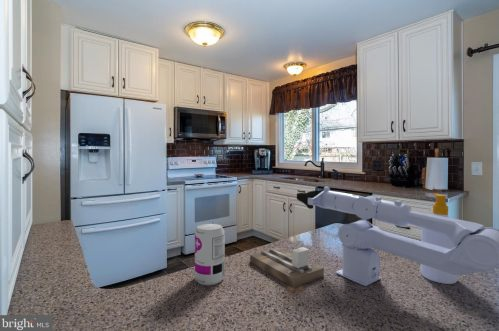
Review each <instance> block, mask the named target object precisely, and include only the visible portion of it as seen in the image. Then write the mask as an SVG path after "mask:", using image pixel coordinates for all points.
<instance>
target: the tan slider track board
mask: <svg viewBox="0 0 499 331" xmlns="http://www.w3.org/2000/svg"><path fill="white" fill-rule="evenodd" d="M249 262H250V264H252V265H254V266H256V267H257V268H259V269H261V270H263V271H264V272H266V273H268V275H269V274H270V275H271V276H273V277H274V278H276V279H278V280H280V281H282V282H284V284H286V285H289V286H290V287H291V288H293V289H296V288H299V287H300V286H303V285H305V284H308V283H309V282H313V281H315V280H318V279H319V278H322V277H324V274H325V273H324V272H325V271H324V270H325V268H324V267H323V266H321V265H319V264H316V263H314V262H312V261H310V260H309V265H306V266H307V269H304V270H302V269H300V268H296V267H294V266H292V252H289V251H286V249H285V250H284V249H282V248H280V247H275V248H269V249H267V250H264V249H263V250H261V252H256V253H253V254H252V253H251V254H250V255H249Z"/></svg>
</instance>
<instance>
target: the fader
mask: <svg viewBox="0 0 499 331" xmlns="http://www.w3.org/2000/svg"><path fill="white" fill-rule="evenodd" d="M291 254H292V266H294V267H296V268H300V269H302V270H304V269H307V266H306V265H309V261H310V249H309V248H307V247H304V246H302V247H301V246H300V247H298V248H295V249H291Z"/></svg>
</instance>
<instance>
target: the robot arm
mask: <svg viewBox="0 0 499 331" xmlns="http://www.w3.org/2000/svg"><path fill="white" fill-rule="evenodd" d="M296 200H297V201H299V202H301V203H302V204H304V205H305V206H306V207H307V209H309V210H312V209H314V206H316V207H319V208H322V209H326V210H327V209H328V210H333V211H336V212H337V211H338V212H341V213H346V214H351V215H356V216H357V217H358V218H360V219H359V220H357V221H354V222H350V223H345V224H341V225H340V227H339V228H338V230H337V231H338V232H337V236H338V239H339V241H340V242H341V244H342V269H339V270H336V271H335V273H336V274H337V275H339V276H341V277H344V278H345V279H346V278H347V280H351V281H352V282H355V283H356V284H360V285H362V286H363V287H364V286H365V287H367V286H369V285H372V284H374V282H377V281H379V280H380V279H382V277H381V276H380V272H381V271H380V268H381V267H380V264H381V259H380V258H381V257H380V253H379V252H378V251H381V252H385V253H387V254H391V255H393V256H397V257H400V258H402V259H405V260H408V261H412V262H415V263H418V264H420V265H421V264H423V265H426V266H429V267H432V268H435V269H438V270H441V271H444V272H447V273H450V274H453V275H458V276H461V275H469V274H476V273H489V272H491V271H492V270H494V269H497V267H499V228H496V227H493V226H492V227H491V226H490V227H487V226H486V227H485V225H483V224H480V223H478V222H473V221H468V220H463V219H458V218H452V217H449V216H448V217H449V218H448V217H442V216H437V215H433V214H431V213H426V212H425V213H424V212H419V211H414V210H412V209H411V208H410V206H409V205H408V204H405V203H403V201H402V200H398V199H397V200H394V201H391V200H387V199H386V200H385V199H382V197H380V196H377V197H376V196H375V195H373V194H371V195H367V196H363V195H362V196H361V195H359V194H358V195H356V194H354V193H345V192H341V191H334V190H333V188H331V187H330V186H323V189H321V190H320V189H319V190H318V189H317V190H311V191H307V192H297V193H296ZM369 219H374V220H376V221H379V222H383V223H386V224H389V225H392V226H397V227H401V228H403V227H406V226H407V225H412V226H415V227H419V228H421V229H422V228H425V229H428V230H431V231H434V232H438V233H441V234H444V235H446V236H447V237H448V238H449V240H450V241H451V242H452V244H453V245H454V246H455V247H454V248H453V249H448V248H444V247H441V246H437V245H433V244H430V243H426V242H422V241H421V240H418V239H414V238H411V237H407V236H403V235H400V234H396V233H392V232H389V231H385V230H382V229H381V228H380V227H379V226H376V225H373V224H372V223H371V222H369V221H368V220H369ZM377 250H378V251H377Z"/></svg>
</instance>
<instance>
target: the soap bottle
mask: <svg viewBox="0 0 499 331" xmlns="http://www.w3.org/2000/svg"><path fill="white" fill-rule="evenodd" d="M432 196H435V197H436V198H435V199H436V201H435V202H434V203H433V206H432V215H437V216H442V217H448V218H450V217H449V206H448V205H447V202H446V195H444V194H440V193H438V192H437V193H435V192H434V193H433V192H432ZM420 241H422V242H426V243H430V244H433V245H437V246H441V247H444V248H448V249H453V248H454V247H455V246H454V245H453V244H452V242H451V241H450V240H449V238H448V237H447V236H446V235H444V234H441V233H438V232H434V231H431V230H428V229H425V228H421V240H420ZM419 272H420V274H421V276H422V277H424V279H427V280H429V281H432V282H436V283H439V284H446V285H447V284H448V285H452V284H457V282H458V277H459V275H453V274H450V273H447V272H444V271H441V270H438V269H435V268H432V267H429V266H426V265H423V264H420V269H419Z"/></svg>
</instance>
